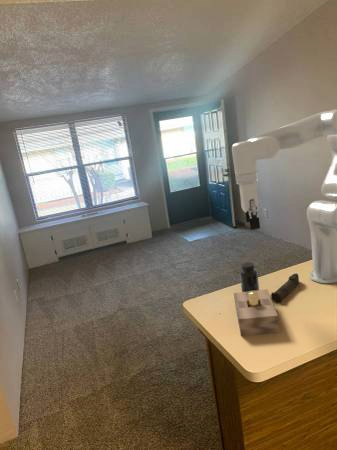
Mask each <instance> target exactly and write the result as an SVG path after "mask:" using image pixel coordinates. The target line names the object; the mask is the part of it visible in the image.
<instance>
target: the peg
mask: <svg viewBox="0 0 337 450" xmlns="http://www.w3.org/2000/svg"><path fill="white" fill-rule="evenodd" d="M248 296H249V304H250V307H256V306H259V303H258V294H257V291H249V292H248Z"/></svg>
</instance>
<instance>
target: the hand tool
mask: <svg viewBox="0 0 337 450" xmlns="http://www.w3.org/2000/svg"><path fill="white" fill-rule="evenodd" d="M299 282H300V278H299V274H298V273H293V274H292V275H289V277H288V280H287V281H286V282H285V283H283V284H282V285H281V286H280V287H279V288H278V289H276V290H275V291H274V292H271V294H270V298H271V300H272V302H274V301H275V302H276V303H281V302H282V301H283V299H284V298H285V297H286V296H287V295H288V294H289V293H290V292H291V291H292V290H293V289H296V288H297V287H298V285H299Z"/></svg>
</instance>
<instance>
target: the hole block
mask: <svg viewBox="0 0 337 450" xmlns="http://www.w3.org/2000/svg"><path fill="white" fill-rule="evenodd" d="M248 292H249V291H248ZM248 292H242V291H239V292H233V296H234V304H235V305H234V306H235V312H236V316H237V321H238V322H237V323H238V327H239V333H240V336H241V337H243V336H244V337H245V336H255V335H266V333H268V334H278V333H280V323H279V315H278V312H277V310H276V307H275V305H274V303H273V302H274V301H273V300H272V299H271V294H270V293H269V291H268V289H259V290H257V294H258V303H259V306H256V307H250V304H249V296H248Z"/></svg>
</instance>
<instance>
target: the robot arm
mask: <svg viewBox="0 0 337 450" xmlns="http://www.w3.org/2000/svg"><path fill="white" fill-rule="evenodd" d="M326 136H327V137H326ZM323 137H326V141H327V145H328V147H329V149H330V153H331V164H330V166H329V168H328V170H327V173H326V175H325V178H324V180H323V182H322V185H321V189H320V193H321V195H322V196H323V197H325V198H328V199H331V200H336V201H337V109H331V110H326V111H325V110H324V111H321V112H318V113H315V114H313V115H310V116H307V117H304V118H302V119H299V120H298V121H295V122H291V123H289V124H286V125H284V126H281V127H278V128H275V129H272V130H269V131H266V132H264V133H261V134H258V135H255V136H253V137H251V138H249V139H247V140H244V141H238V142H235V143H233V144H232V146H231V152H232V153H231V155H232V161H233V162H232V163H233V168H234V174H235V175H234V176H235V183H236V185H238V187H239V195H240V197H239V198H240V205H241V209H242V211H243V212H244V213H245V214H244V215H245V220H246V223H249V228H250V230H252V231H253V230H258V229H260V228H261V224H260V217H259V213H258V211H259V198H258V190H257V182H258V181H259V173H258V165H257V161H260V160H270V159H273V158H274V157H276V156H277V155H278V154H279V152H280V150H285V149H291V148H292V149H294V148H297V147H301V146H303V145H306V144H308V143H311V142H313V141H315V140H318V139H320V138H323ZM331 200H321V199H320V200H314V201H312V202H311V203H310V204H309V205H308V207H307V209H306V219H307V222H308V225H309V229H310V243H311V256H312V270H311V271H310V272H309V279H310V280H312V281H314V282H315V283H316V282H317V283H320V284H336V283H337V202H335V201H331Z"/></svg>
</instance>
